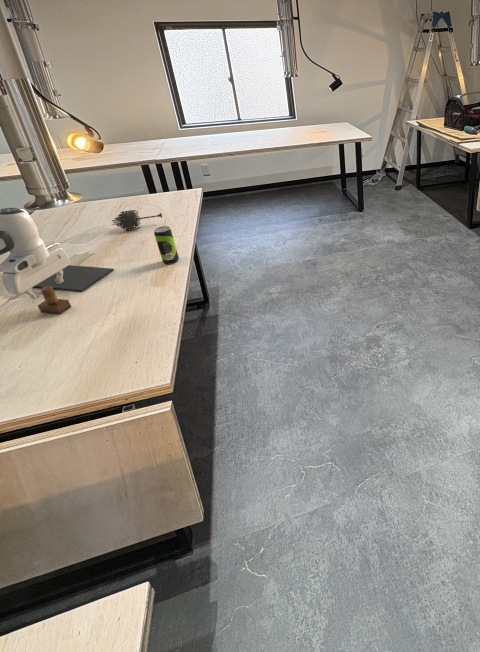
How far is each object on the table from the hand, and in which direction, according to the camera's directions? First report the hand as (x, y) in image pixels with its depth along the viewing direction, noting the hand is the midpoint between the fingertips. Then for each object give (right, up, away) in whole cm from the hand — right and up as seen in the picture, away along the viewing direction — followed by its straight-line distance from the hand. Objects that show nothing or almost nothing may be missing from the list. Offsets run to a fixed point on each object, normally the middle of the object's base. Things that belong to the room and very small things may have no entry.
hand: (48, 290), depth 140 cm
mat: (-8, +2, +22) cm, 23 cm away
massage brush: (-7, +23, +65) cm, 69 cm away
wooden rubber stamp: (0, -7, +3) cm, 8 cm away
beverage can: (+25, +8, +33) cm, 42 cm away
